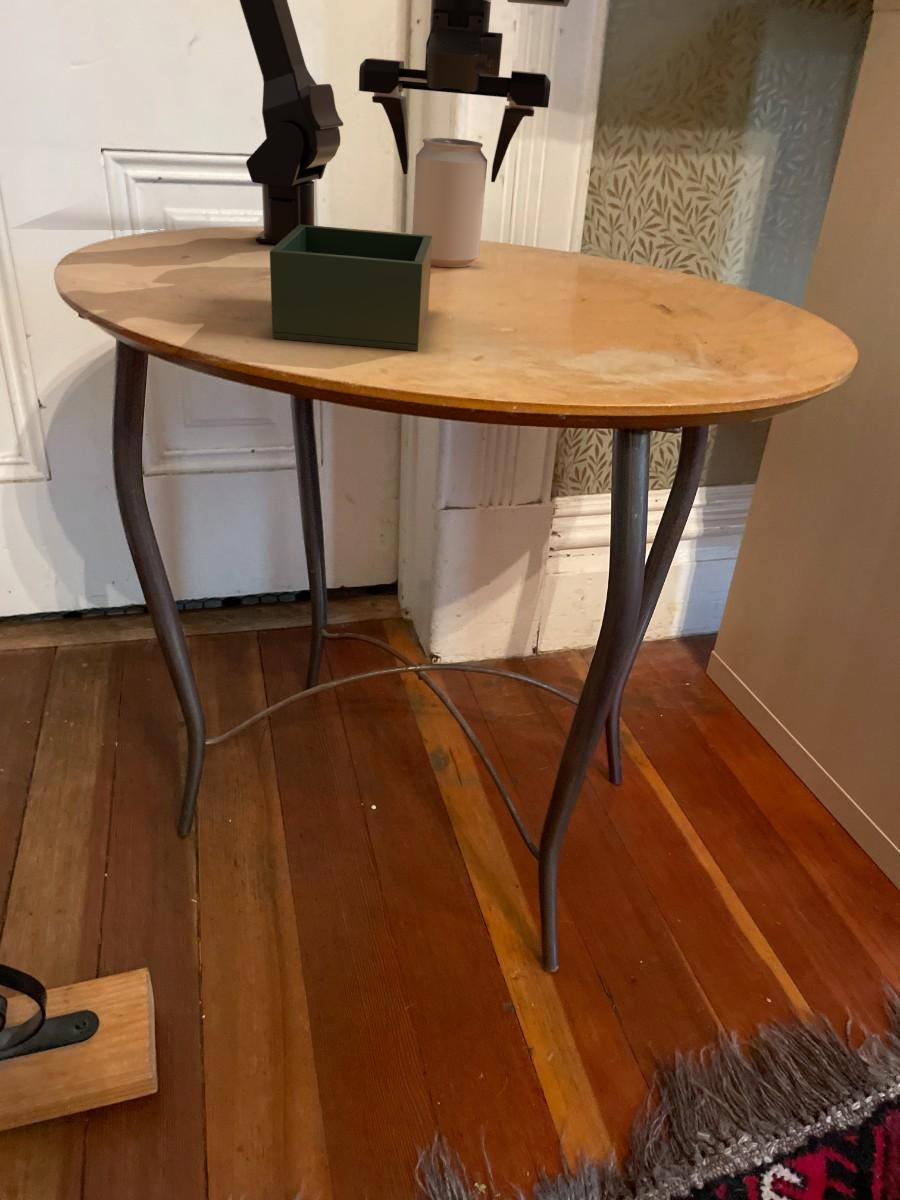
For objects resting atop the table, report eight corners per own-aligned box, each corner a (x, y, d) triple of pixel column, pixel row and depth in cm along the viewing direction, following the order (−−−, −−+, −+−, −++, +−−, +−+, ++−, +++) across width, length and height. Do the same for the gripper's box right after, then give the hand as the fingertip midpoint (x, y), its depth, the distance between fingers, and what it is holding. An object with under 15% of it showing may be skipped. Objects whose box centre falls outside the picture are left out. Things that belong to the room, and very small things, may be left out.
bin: (300, 302, 79) (299, 224, 75) (428, 313, 79) (432, 235, 75) (272, 338, 69) (269, 250, 66) (417, 351, 69) (422, 264, 66)
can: (472, 272, 94) (482, 146, 88) (403, 263, 95) (409, 138, 89) (484, 258, 100) (494, 140, 94) (419, 251, 101) (425, 133, 95)
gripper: (351, -15, 78) (349, 180, 86) (563, 4, 78) (540, 197, 86) (368, -8, 87) (364, 166, 96) (556, 8, 87) (536, 182, 96)
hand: (449, 177), depth 93 cm, fingers open, 9 cm apart
